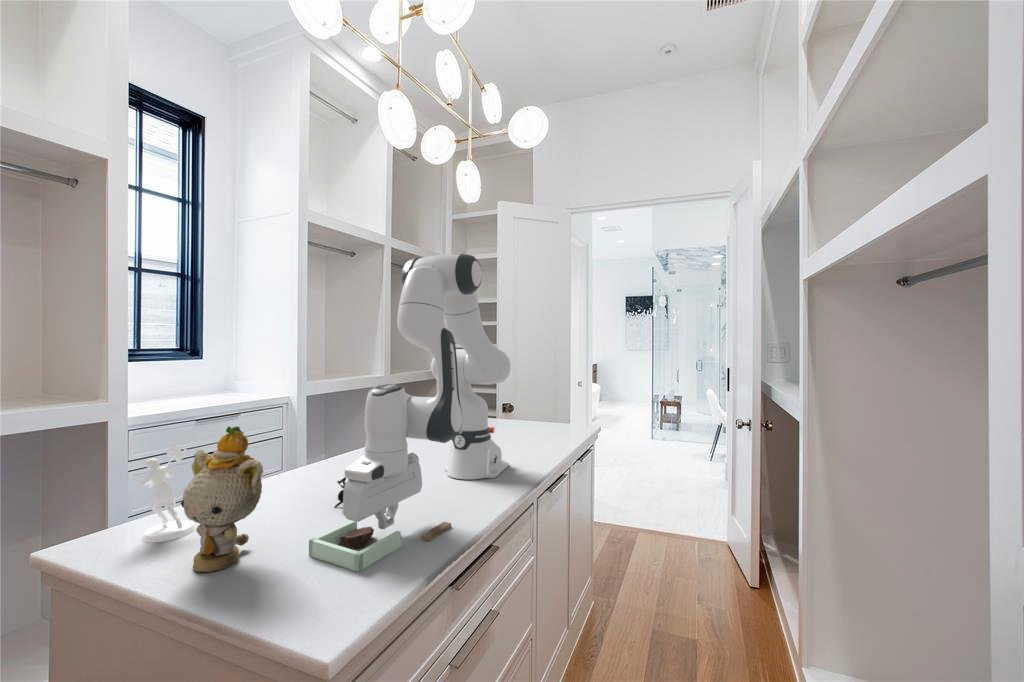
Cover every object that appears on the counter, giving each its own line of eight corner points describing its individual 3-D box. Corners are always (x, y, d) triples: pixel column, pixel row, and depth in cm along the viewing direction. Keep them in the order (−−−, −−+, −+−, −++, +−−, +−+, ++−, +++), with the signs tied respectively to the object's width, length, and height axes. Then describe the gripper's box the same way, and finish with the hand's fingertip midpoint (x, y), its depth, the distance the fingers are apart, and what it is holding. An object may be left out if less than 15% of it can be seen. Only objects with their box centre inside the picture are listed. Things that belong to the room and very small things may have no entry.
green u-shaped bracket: (353, 533, 93) (353, 519, 93) (400, 546, 88) (400, 531, 88) (308, 555, 84) (308, 540, 84) (358, 572, 78) (358, 555, 78)
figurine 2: (216, 590, 72) (217, 438, 72) (164, 564, 80) (165, 428, 81) (281, 560, 82) (282, 427, 82) (229, 539, 90) (230, 419, 91)
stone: (340, 554, 85) (340, 537, 85) (339, 539, 91) (339, 524, 91) (376, 548, 87) (376, 532, 87) (372, 534, 94) (372, 519, 94)
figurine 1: (184, 519, 101) (185, 441, 101) (207, 528, 96) (208, 446, 96) (131, 536, 92) (132, 450, 92) (153, 546, 87) (154, 456, 88)
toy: (325, 485, 117) (323, 506, 103) (349, 465, 119) (350, 484, 105) (342, 502, 118) (342, 526, 104) (365, 483, 120) (368, 504, 106)
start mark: (443, 525, 98) (443, 521, 98) (451, 526, 97) (451, 523, 97) (420, 539, 91) (421, 535, 91) (428, 541, 90) (428, 537, 90)
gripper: (407, 449, 104) (407, 507, 104) (337, 472, 86) (337, 542, 86) (428, 452, 101) (428, 512, 101) (361, 476, 83) (361, 549, 83)
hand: (386, 526), depth 93 cm, fingers closed
